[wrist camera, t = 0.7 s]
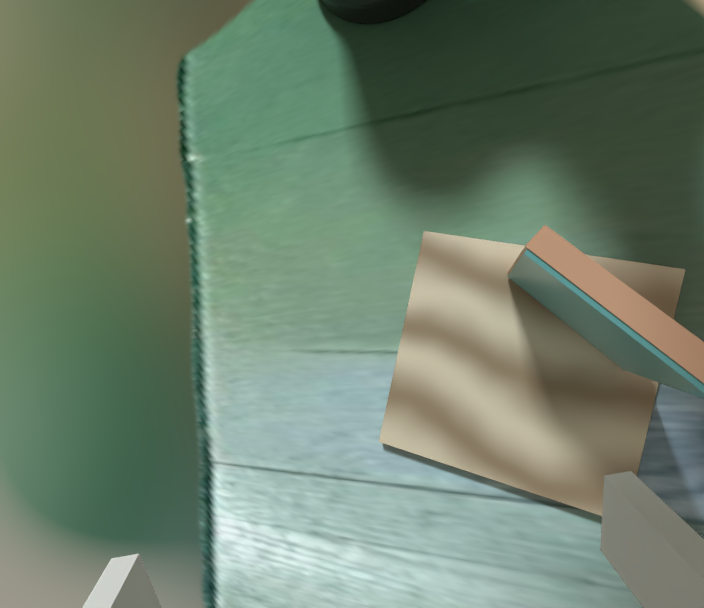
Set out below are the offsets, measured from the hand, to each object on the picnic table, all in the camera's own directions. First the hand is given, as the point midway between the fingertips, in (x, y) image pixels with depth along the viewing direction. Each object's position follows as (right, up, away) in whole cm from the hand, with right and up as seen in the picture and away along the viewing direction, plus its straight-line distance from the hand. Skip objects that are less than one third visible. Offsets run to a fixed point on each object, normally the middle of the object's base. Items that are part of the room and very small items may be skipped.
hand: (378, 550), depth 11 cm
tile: (+16, +6, +19) cm, 25 cm away
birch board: (+13, +2, +21) cm, 24 cm away
